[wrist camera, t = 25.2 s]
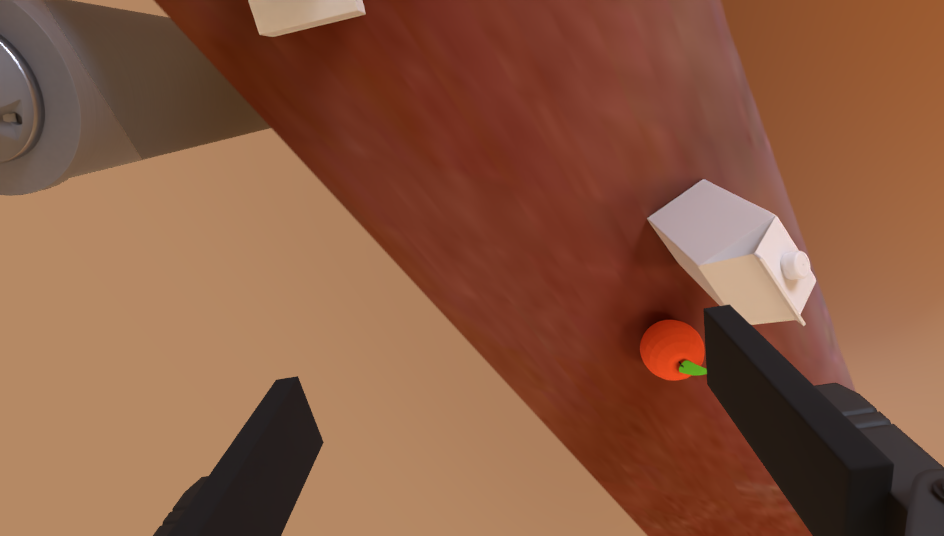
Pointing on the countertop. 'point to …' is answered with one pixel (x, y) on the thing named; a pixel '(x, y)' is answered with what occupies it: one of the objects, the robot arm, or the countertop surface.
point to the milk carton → (736, 253)
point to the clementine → (673, 350)
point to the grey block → (301, 14)
